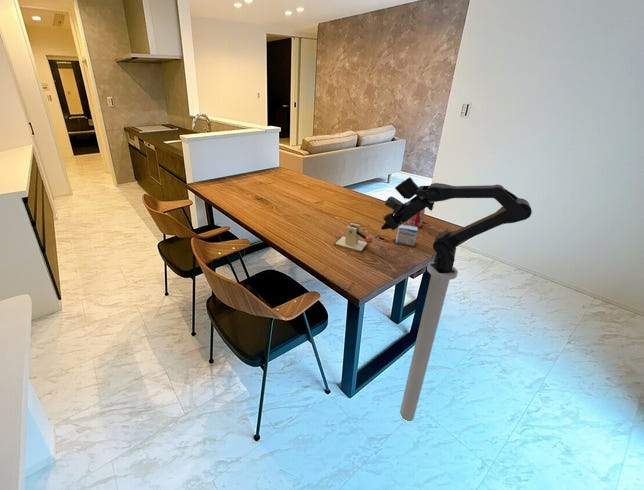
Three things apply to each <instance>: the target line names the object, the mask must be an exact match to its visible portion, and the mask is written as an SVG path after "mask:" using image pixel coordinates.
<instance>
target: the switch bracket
mask: <svg viewBox="0 0 644 490" xmlns="http://www.w3.org/2000/svg"><path fill="white" fill-rule="evenodd" d="M352 225H353V226H355V227H356V228H354V227H351V226H352ZM357 228H358V229H357ZM360 229H361V224H357V223H353V222H350V223H349V225H347V226H346V229H345V236H343V235H342V236H341V238H340V239H338V240H337V241H336V242H335V245H337V246H341V247H344V248H347V249H352V250H355V251H359V252H362V251H363V250H364V249H365V247H366V246H367V245H368V243H366V242H365V241H363V240H360V239H359V237H360V236H359V235H358V234H356V233H357V231H359V232H360Z"/></svg>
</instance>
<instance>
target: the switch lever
mask: <svg viewBox="0 0 644 490" xmlns="http://www.w3.org/2000/svg"><path fill="white" fill-rule="evenodd" d="M351 227H354V228H356V227H355V226H353V225H352V226H351ZM357 229H358V228H357ZM356 234H358V235H359V237H361V238H362V239H363V240H364V242H366V243H367V244H371V243H372V242H373V237H372V236H370V235H367V236H366V235H365V234H363V233H362V232H360V230H359V231H357V233H356Z"/></svg>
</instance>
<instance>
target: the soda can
mask: <svg viewBox="0 0 644 490" xmlns="http://www.w3.org/2000/svg"><path fill="white" fill-rule="evenodd" d="M425 212H426V208H425V209H423V210H422V211H420V212H419V213H417V214H416V215H414V216H413V217H411V219H409V220H408V221H406V225H408V226H414V227H418V228H420V227H422V224H423V221H424V217H425Z"/></svg>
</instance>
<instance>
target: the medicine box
mask: <svg viewBox="0 0 644 490" xmlns="http://www.w3.org/2000/svg"><path fill="white" fill-rule="evenodd" d="M418 231H419V227H414V226H410V225H408V224H403V223H402V224H401V225H400V226H399V227H398V228H397V233H396V238H395V243H396V244H401V245H406V246H411V247H415V246H416V242H417V241H416V240H417V236H418V233H419V232H418Z"/></svg>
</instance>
